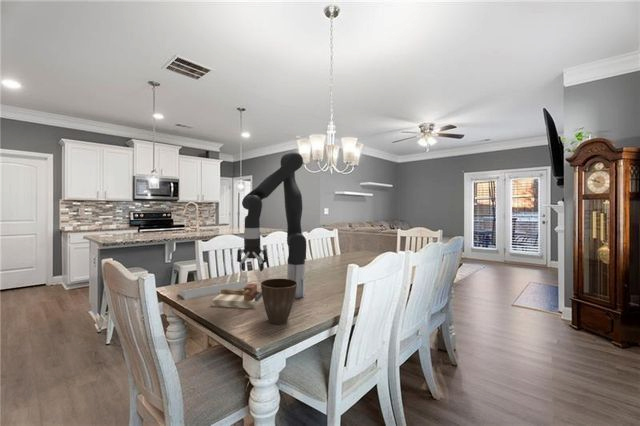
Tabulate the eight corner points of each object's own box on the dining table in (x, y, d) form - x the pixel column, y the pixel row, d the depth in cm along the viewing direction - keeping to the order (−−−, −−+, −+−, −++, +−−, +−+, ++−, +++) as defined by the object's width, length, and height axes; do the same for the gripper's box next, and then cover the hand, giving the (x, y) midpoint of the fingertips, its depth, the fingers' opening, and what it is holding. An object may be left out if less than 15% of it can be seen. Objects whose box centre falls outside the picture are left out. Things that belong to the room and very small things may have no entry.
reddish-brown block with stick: (256, 295, 148) (256, 283, 147) (248, 304, 136) (248, 290, 135) (248, 295, 148) (249, 283, 148) (240, 303, 136) (240, 290, 136)
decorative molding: (179, 300, 156) (184, 300, 149) (178, 291, 157) (184, 290, 149) (240, 289, 178) (248, 288, 171) (239, 281, 179) (247, 280, 171)
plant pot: (283, 311, 135) (283, 276, 135) (303, 322, 124) (304, 283, 123) (253, 319, 125) (254, 281, 125) (272, 331, 114) (273, 290, 114)
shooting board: (262, 300, 149) (262, 291, 149) (255, 308, 138) (256, 297, 138) (222, 298, 151) (222, 288, 151) (212, 306, 140) (212, 295, 140)
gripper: (268, 236, 146) (269, 269, 147) (240, 236, 147) (240, 268, 148) (264, 238, 139) (264, 273, 139) (234, 238, 140) (235, 272, 140)
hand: (252, 270), depth 144 cm, fingers open, 8 cm apart
